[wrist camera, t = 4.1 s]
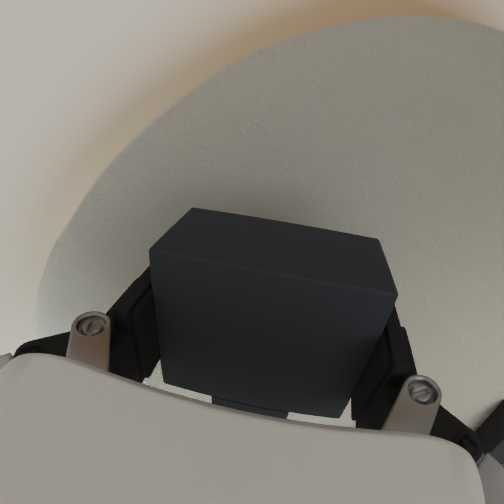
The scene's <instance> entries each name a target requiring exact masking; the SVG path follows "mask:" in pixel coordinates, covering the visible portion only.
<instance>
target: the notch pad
mask: <svg viewBox="0 0 504 504" xmlns="http://www.w3.org/2000/svg"><path fill="white" fill-rule="evenodd" d="M475 433H476V434H477V435H478V436H479V438H480V439H481V441H482V445H483V453H484V454H485V455H486V454H487V453H489V454H490V455H491V456H492V457H493V458H494V459H495V460H497V461H498V462H499V463H500V464H501V465H502V464H504V400H503V401H502V403H501V404H500V405H499V406H498V407H497V409H496V410H495V411H494V412H493V413H492V414H491V416H490V417H489V418H488V419H487V420H486V421H485V422H484V424H483V425H482V426H481V427H480V428H479V429H478V430H477V431H476V432H475Z"/></svg>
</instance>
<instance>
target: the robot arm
mask: <svg viewBox="0 0 504 504" xmlns="http://www.w3.org/2000/svg"><path fill="white" fill-rule="evenodd" d="M159 359H160V353H159V345H158V338H157V330H156V321H155V312H154V303H153V293H152V284H151V272H150V266H149V267H148V268H147V269H146V270H145V271H144V272H143V274H142V275H141V276H140V277H139V278H137V279H136V280H135V281H134V282H133V283H132V284H131V285H130V286H129V288H128V289H127V290H126V291H125V292H124V293H123V294H122V296H121V297H120V298H119V299H118V300H117V301H116V302H115V304H114V305H113V306H112V307H111V308H110V309H109V310H108V312H107V313H106V314H104V313H101V312H95V311H92V312H87V313H84V314H81V315H80V316H78V317H77V318H76V319H75V320H74V321H73V324H72V327H71V331H70V332H66V333H62V334H58V335H54V336H49V337H45V338H41V339H37V340H33V341H29V342H27V343H24V344H23V345H21V346H20V347H19V348H18V349H17V350H16V352H15V355H14V356H12V355H11V353H8V354H5V355H1V356H0V504H504V467H503V466H502V465H501V464H500V463H499V462H498V461H497V460H495V459H494V458H493V457H492V456H491V455H490V454H489V453H487V454H486V455H485V454H484V453H483V445H482V441H481V439H480V438H479V436H478V435H477V434H476V433H475V432H474V431H472V430H471V429H470V428H468V427H467V426H466V425H465V424H463V423H462V422H461V421H460V420H458V419H457V418H456V417H455V416H453V415H452V414H451V413H450V412H448V411H447V410H446V409H445V408H443V407H442V406H441V405H440V402H441V397H442V394H441V390H440V388H439V386H438V385H437V384H436V383H435V382H434V381H433V380H432V379H430V378H429V377H426V376H423V375H417V371H416V367H415V363H414V359H413V355H412V351H411V347H410V343H409V340H408V336H407V332H406V329H405V328H404V327H401V326H400V322H399V318H398V315H397V311H396V308H395V304H394V307H393V309H392V311H391V314H390V316H389V319H388V321H387V323H386V326H385V328H384V330H383V333H382V335H381V336H380V339H379V341H378V343H377V345H376V347H375V350H374V352H373V354H372V356H371V358H370V360H369V362H368V364H367V366H366V368H365V370H364V372H363V375H362V376H361V378H360V380H359V382H358V384H357V386H356V388H355V390H354V392H353V394H352V396H351V417H352V420H355V421H356V428H351V427H341V426H332V425H323V424H315V423H308V422H301V421H295V420H289V419H283V418H277V417H271V416H266V415H261V414H256V413H251V412H246V411H241V410H237V409H232V408H228V407H223V406H219V405H215V404H211V403H207V402H203V401H199V400H196V399H192V398H188V397H185V396H181V395H178V394H174V393H171V392H167V391H164V390H161V389H157V388H154V387H151V386H148V385H145V384H142V382H143V380H144V378H145V377H146V378H149V377H150V375H151V374H152V372H153V370H154V368H155V367H156V365H157V363H158V361H159Z"/></svg>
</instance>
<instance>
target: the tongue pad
mask: <svg viewBox="0 0 504 504" xmlns="http://www.w3.org/2000/svg"><path fill="white" fill-rule="evenodd" d="M149 259H150V272H151V284H152V293H153V303H154V312H155V321H156V330H157V338H158V345H159V353H160V361H161V368H162V374H163V381H164V383H167V384H170V385H173V386H177V387H180V388H184V389H187V390H191V391H195V392H198V393H202V394H206V395H210V396H212V404H215V405H219V406H223V407H228V408H232V409H237V410H241V411H246V412H251V413H256V414H261V415H266V416H271V417H277V418H283V419H287V416H288V413H289V412H293V413H300V414H307V415H314V416H322V417H330V418H340V416H341V414H342V413H343V411H344V409H345V407H346V405H347V404H348V402H349V400H350V398H351V396H352V394H353V392H354V390H355V388H356V386H357V384H358V382H359V380H360V378H361V376H362V375H363V372H364V370H365V368H366V366H367V364H368V362H369V360H370V358H371V356H372V354H373V352H374V350H375V347H376V345H377V343H378V341H379V339H380V336H381V335H382V333H383V330H384V328H385V326H386V323H387V321H388V319H389V316H390V314H391V311H392V309H393V307H394V304H395V302H396V299H397V296H398V292H397V289H396V286H395V283H394V280H393V278H392V275H391V272H390V269H389V266H388V263H387V261H386V258H385V255H384V252H383V250H382V247H381V244H380V242H379V240H378V239H375V238H369V237H364V236H359V235H354V234H349V233H343V232H338V231H332V230H327V229H321V228H316V227H310V226H305V225H299V224H293V223H287V222H281V221H276V220H270V219H264V218H257V217H251V216H245V215H239V214H233V213H226V212H220V211H213V210H207V209H200V208H191V209H190V210H189V211H188V212H187V213H186V214H185V215H184V216H183V217H182V218H181V219H180V220H179V221H178V222H177V223H176V224H174V225H173V226H172V227H171V228H170V229H169V230H168V231H167V232H166V233H165V234H164V235H163V236H162V237H161V238H160V239H159V240H158V241H157V242H156V243H155V244H154V245H153V246H152V247H151V248H150V250H149Z"/></svg>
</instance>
